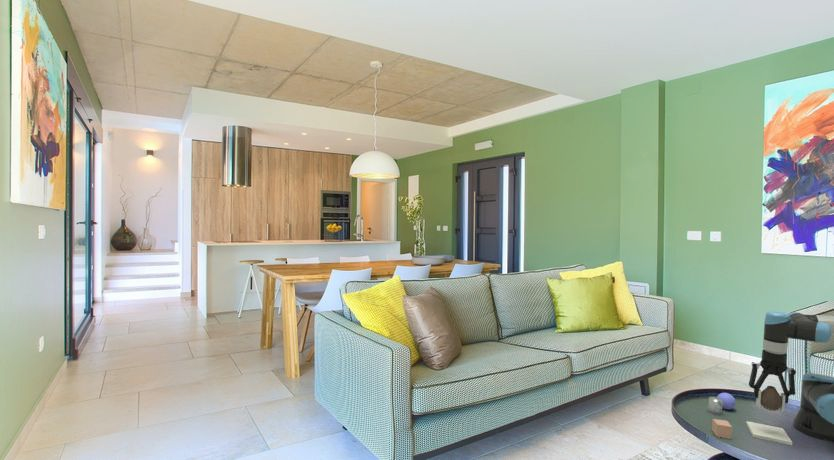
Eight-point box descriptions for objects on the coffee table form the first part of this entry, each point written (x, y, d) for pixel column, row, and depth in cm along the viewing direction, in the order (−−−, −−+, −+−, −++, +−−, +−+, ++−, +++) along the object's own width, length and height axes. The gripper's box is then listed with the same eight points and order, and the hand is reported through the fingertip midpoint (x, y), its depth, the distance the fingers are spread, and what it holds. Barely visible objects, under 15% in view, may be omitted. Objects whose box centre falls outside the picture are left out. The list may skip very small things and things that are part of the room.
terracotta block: (726, 433, 175) (727, 420, 175) (731, 439, 171) (732, 426, 170) (711, 430, 177) (712, 418, 177) (716, 437, 172) (717, 424, 172)
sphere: (730, 413, 192) (731, 397, 192) (712, 406, 199) (714, 391, 198) (738, 410, 196) (739, 395, 196) (721, 403, 202) (722, 389, 202)
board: (782, 431, 178) (782, 428, 178) (792, 445, 167) (792, 442, 167) (746, 423, 183) (746, 421, 183) (753, 437, 173) (753, 434, 173)
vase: (785, 413, 171) (786, 391, 170) (764, 411, 172) (766, 389, 172) (774, 405, 178) (776, 384, 177) (755, 403, 179) (756, 382, 178)
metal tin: (720, 411, 194) (721, 398, 194) (722, 416, 190) (723, 402, 189) (707, 408, 196) (708, 395, 196) (709, 413, 192) (710, 400, 192)
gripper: (803, 352, 173) (798, 410, 174) (741, 344, 181) (737, 398, 182) (810, 358, 166) (805, 418, 167) (745, 349, 174) (741, 406, 176)
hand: (769, 408), depth 175 cm, fingers closed on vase, 7 cm apart
